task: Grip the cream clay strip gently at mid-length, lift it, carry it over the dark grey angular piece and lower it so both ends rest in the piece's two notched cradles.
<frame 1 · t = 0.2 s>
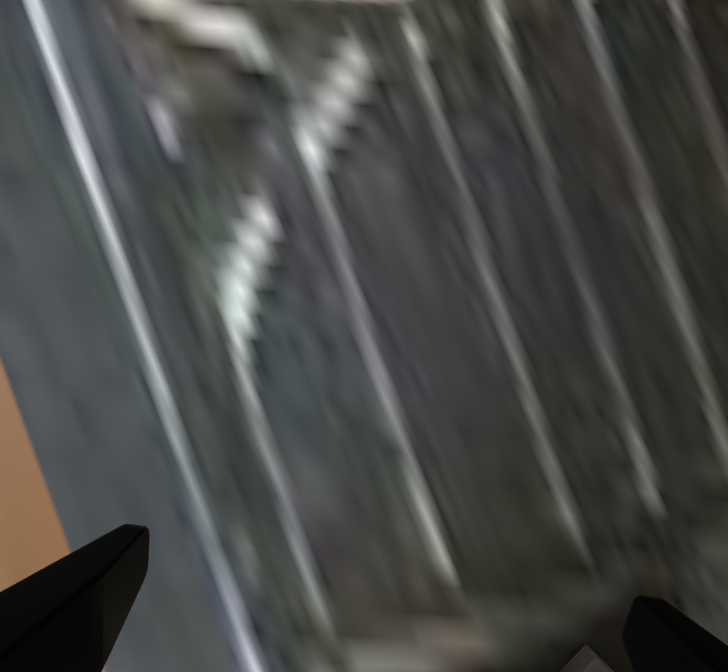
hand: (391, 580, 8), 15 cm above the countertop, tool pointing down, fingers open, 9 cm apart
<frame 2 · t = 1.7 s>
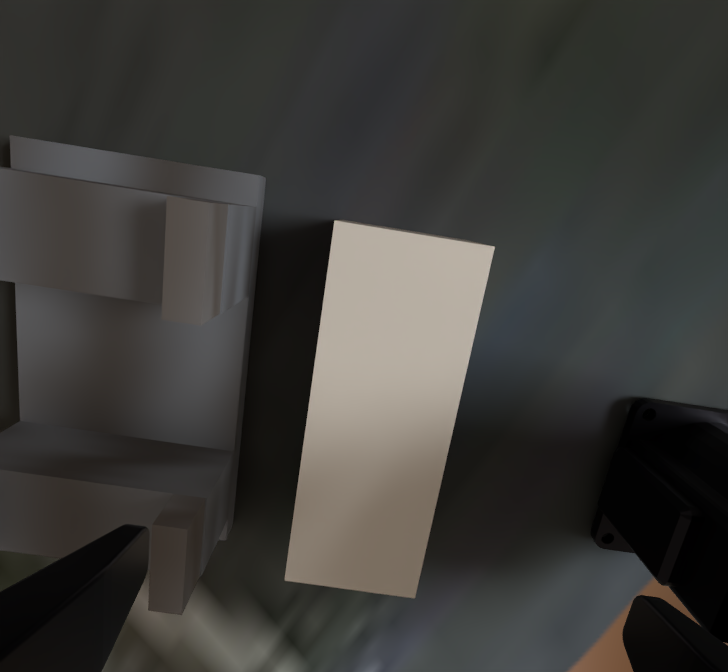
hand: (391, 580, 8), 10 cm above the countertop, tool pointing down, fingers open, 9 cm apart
clay strip: (376, 384, 18), on the countertop
dark grey angular piece: (143, 352, 18), on the countertop
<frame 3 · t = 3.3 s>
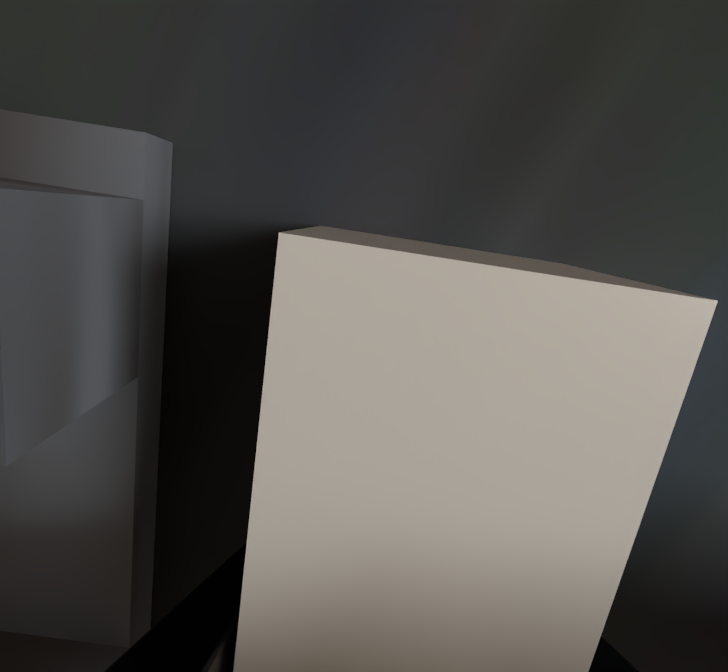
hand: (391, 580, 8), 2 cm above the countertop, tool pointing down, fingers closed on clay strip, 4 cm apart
clay strip: (388, 522, 10), on the countertop, touching gripper
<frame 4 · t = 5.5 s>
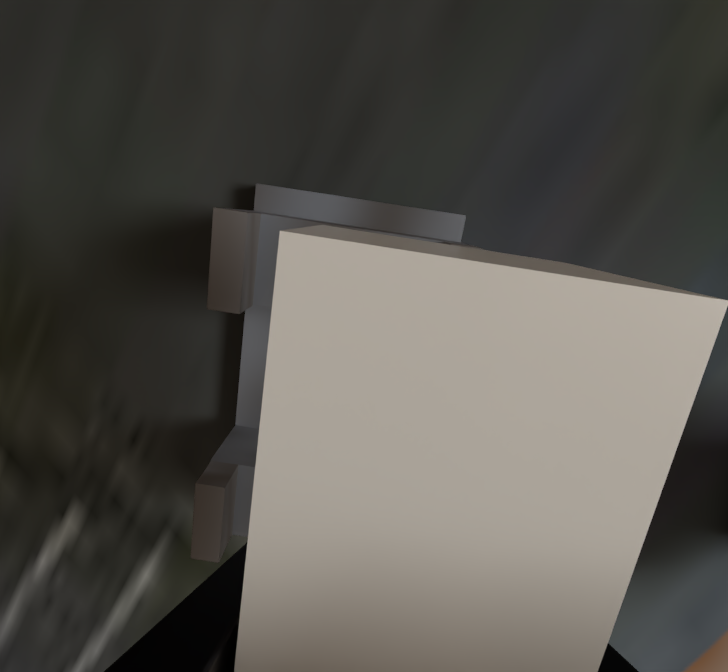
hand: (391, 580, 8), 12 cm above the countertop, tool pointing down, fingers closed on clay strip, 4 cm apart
clay strip: (390, 525, 10), point 10 cm above the countertop, touching gripper
dark grey angular piece: (338, 366, 20), on the countertop
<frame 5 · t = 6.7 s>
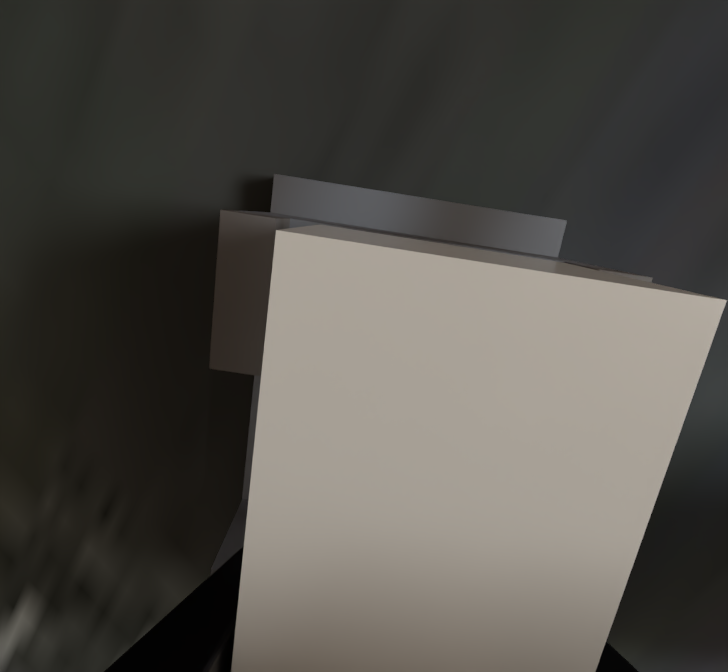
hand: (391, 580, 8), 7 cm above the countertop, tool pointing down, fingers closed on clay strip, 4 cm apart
clay strip: (388, 525, 10), point 5 cm above the countertop, touching gripper
dark grey angular piece: (379, 419, 15), on the countertop
when the fingers open (6 cm above the countertop, at t = 7.6 s): clay strip stays where it is, resting on dark grey angular piece.
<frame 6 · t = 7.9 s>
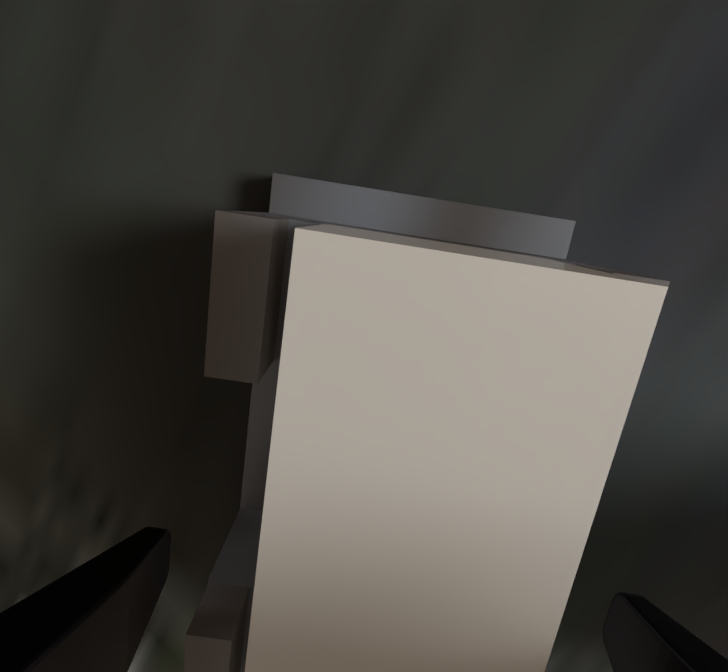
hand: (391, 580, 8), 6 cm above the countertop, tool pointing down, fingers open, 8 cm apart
clay strip: (387, 498, 11), point 4 cm above the countertop, touching dark grey angular piece
dark grey angular piece: (381, 425, 15), on the countertop
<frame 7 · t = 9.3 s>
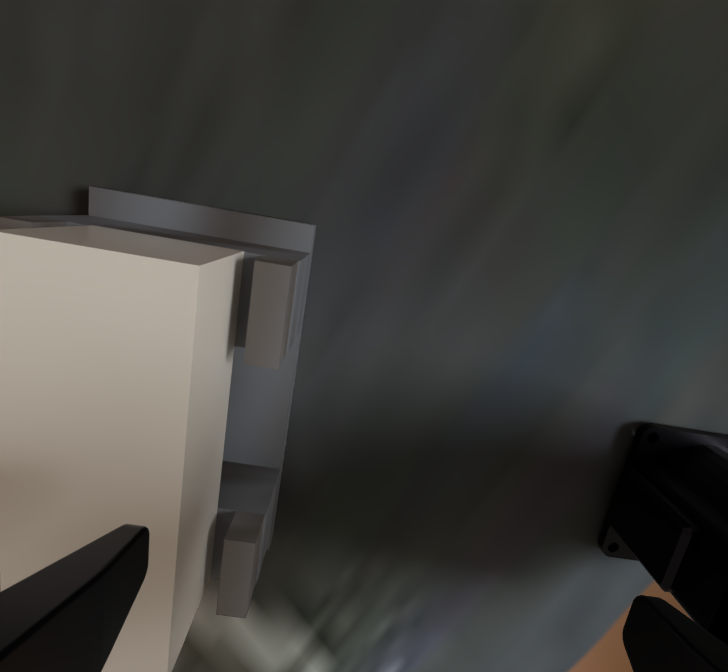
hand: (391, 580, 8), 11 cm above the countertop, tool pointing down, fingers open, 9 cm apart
clay strip: (157, 420, 15), point 4 cm above the countertop, touching dark grey angular piece
dark grey angular piece: (197, 378, 19), on the countertop
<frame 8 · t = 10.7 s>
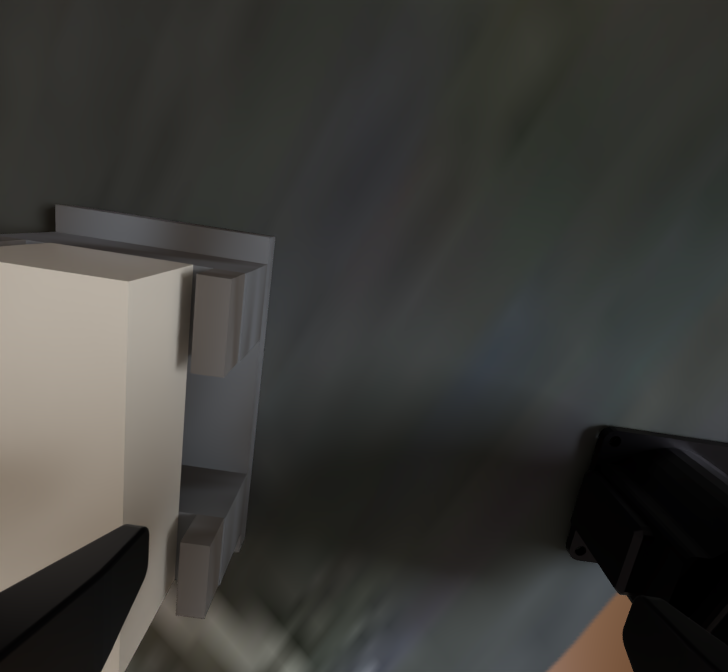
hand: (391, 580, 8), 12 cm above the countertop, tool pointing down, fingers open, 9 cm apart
clay strip: (118, 427, 16), point 4 cm above the countertop, touching dark grey angular piece
dark grey angular piece: (166, 386, 20), on the countertop
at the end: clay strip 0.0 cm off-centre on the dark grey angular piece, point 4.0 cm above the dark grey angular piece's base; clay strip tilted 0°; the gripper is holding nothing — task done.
